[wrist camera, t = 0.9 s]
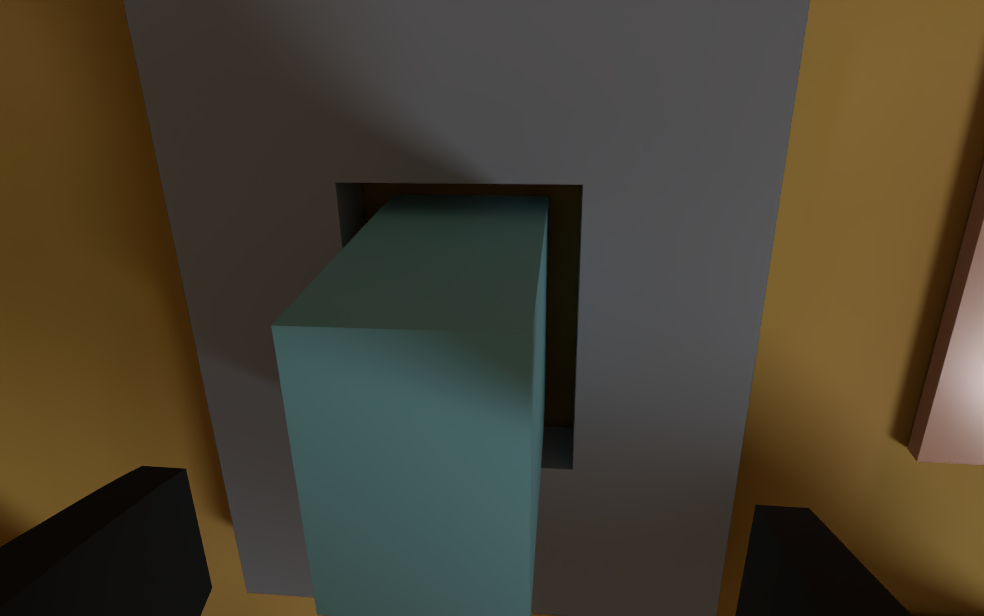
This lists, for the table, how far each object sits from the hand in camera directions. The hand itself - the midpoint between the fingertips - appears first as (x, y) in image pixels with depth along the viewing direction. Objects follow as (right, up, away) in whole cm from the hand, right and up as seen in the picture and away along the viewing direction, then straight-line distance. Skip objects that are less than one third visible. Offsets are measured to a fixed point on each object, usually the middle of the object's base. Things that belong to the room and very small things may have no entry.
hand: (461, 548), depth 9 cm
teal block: (0, +3, +10) cm, 11 cm away
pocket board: (0, +3, +10) cm, 11 cm away
